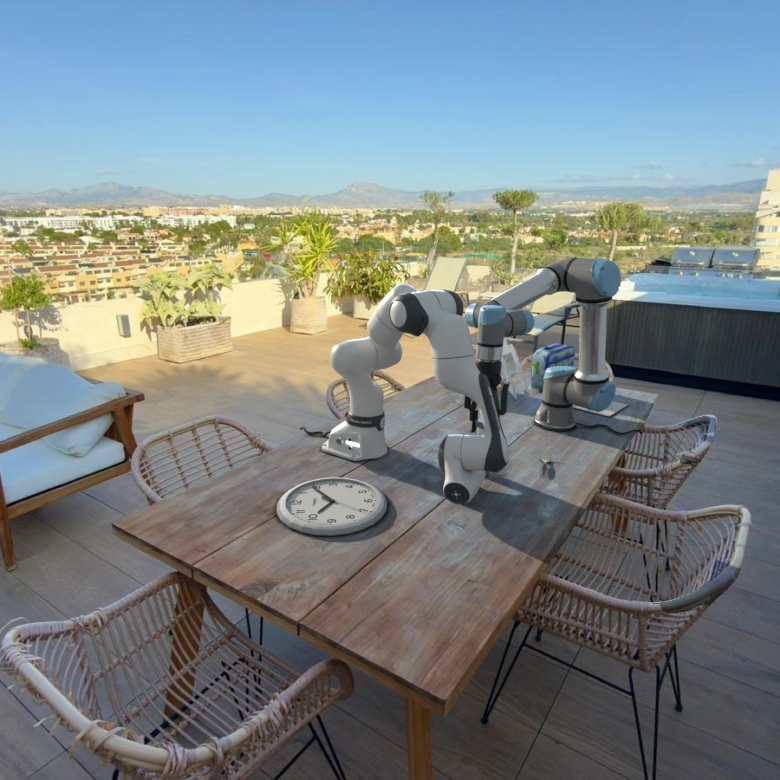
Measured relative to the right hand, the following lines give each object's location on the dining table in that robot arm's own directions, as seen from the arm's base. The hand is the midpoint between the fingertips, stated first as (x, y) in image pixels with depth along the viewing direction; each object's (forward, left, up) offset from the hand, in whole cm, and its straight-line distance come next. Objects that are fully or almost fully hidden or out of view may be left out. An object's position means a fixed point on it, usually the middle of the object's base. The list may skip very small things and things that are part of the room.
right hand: (483, 432), depth 160 cm
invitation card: (-55, -72, -13) cm, 92 cm away
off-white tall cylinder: (0, 0, -13) cm, 13 cm away
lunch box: (-38, -97, -13) cm, 105 cm away
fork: (-21, -7, -13) cm, 26 cm away
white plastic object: (-3, -84, -13) cm, 85 cm away
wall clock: (+41, +27, -13) cm, 51 cm away
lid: (0, 0, +4) cm, 4 cm away
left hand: (0, -1, -7) cm, 7 cm away
